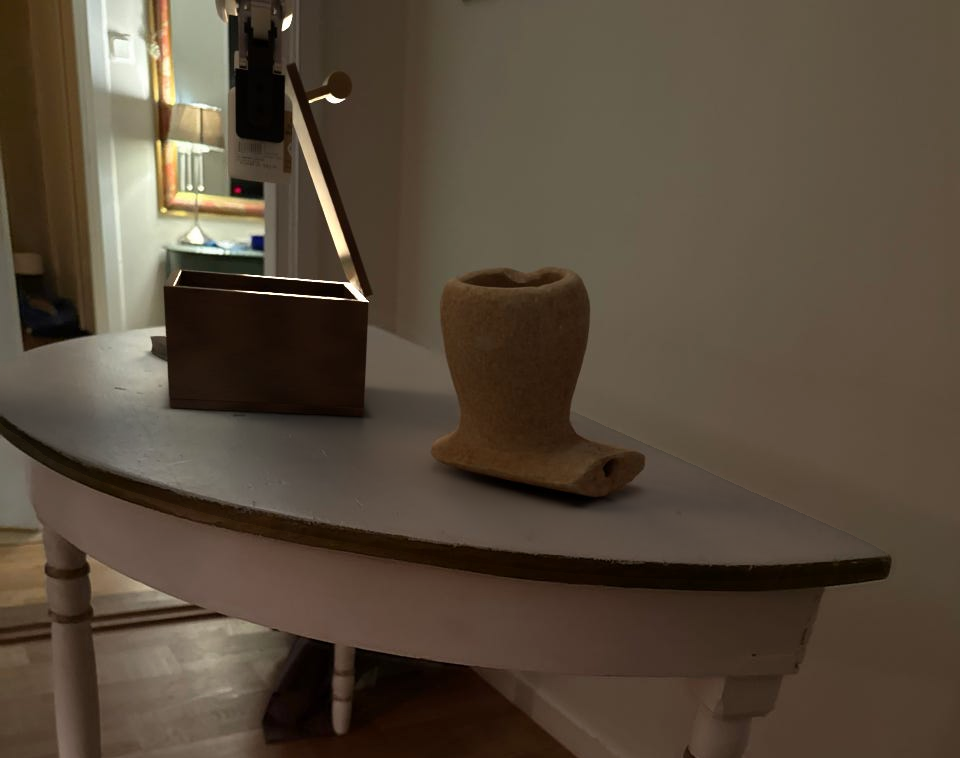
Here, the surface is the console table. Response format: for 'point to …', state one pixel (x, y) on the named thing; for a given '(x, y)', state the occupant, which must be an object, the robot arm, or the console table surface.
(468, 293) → the stone cup
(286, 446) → the console table surface
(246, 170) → the pill bottle
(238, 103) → the robot arm
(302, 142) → the lid
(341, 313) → the chest
